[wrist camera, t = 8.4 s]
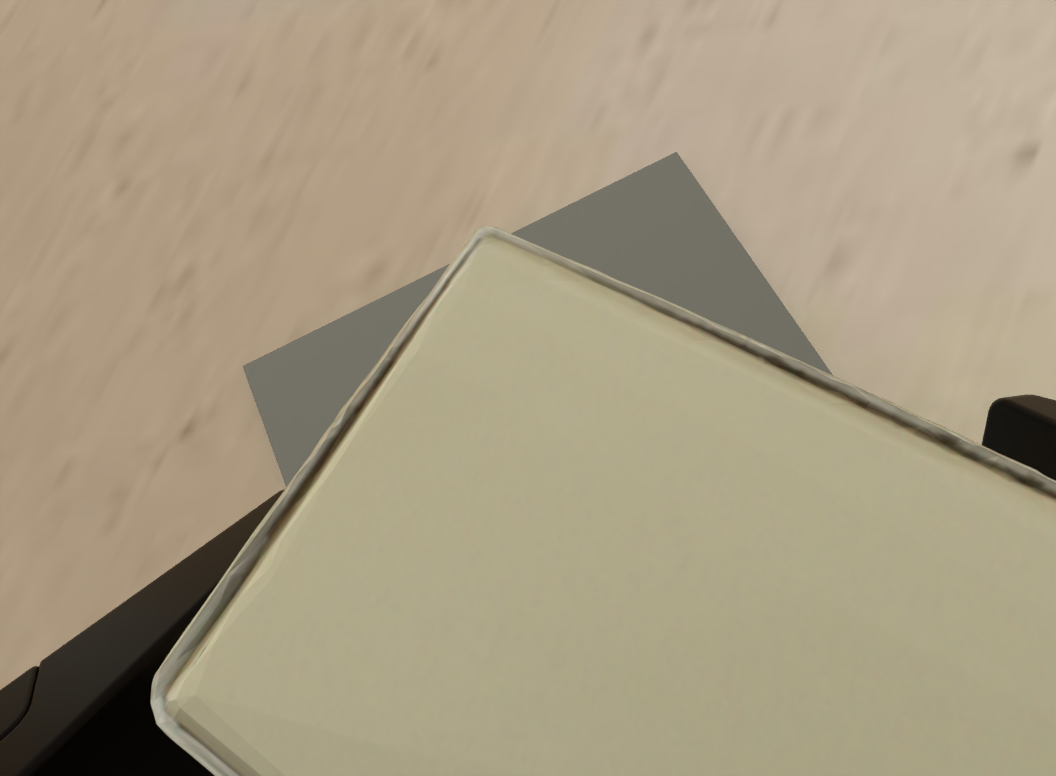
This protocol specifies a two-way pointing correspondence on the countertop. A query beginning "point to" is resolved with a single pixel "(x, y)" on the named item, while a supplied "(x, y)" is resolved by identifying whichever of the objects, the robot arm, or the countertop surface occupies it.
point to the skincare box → (624, 563)
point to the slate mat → (573, 232)
